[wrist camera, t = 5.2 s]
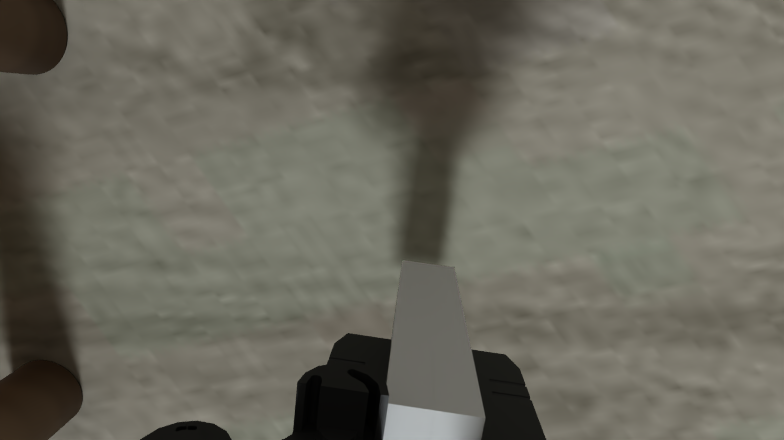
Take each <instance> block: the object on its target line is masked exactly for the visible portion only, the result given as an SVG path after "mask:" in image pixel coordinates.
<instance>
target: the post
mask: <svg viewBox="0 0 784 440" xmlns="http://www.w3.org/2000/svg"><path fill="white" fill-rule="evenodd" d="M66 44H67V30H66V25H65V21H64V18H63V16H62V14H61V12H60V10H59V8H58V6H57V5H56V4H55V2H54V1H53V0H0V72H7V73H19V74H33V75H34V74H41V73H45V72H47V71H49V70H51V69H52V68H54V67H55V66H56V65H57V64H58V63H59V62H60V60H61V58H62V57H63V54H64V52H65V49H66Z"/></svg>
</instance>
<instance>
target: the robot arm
mask: <svg viewBox="0 0 784 440" xmlns="http://www.w3.org/2000/svg"><path fill="white" fill-rule="evenodd" d="M140 440H232V439H231V438H230V436H229V434H228V433H227V431H225V430H223V429H222V428H220V427H218V426H217V425H215V424H212V423H206V422H201V421H188V422H177V423H174V424H171V425H168V426H165V427H162V428H158V429H157V430H155V431H153V432H152V433H150V434H148V435H147V436H145V437H144V438H142V439H140ZM282 440H546V438H545V435H544V433H543V430H542V427H541V425H540V422H539V419H538V417H537V414H536V411H535V409H534V406H533V403H532V401H531V400H530V395H529V393H528V390H527V387H525V382H524V379H523V377H522V374H521V371H520V369H519V368H518V367H517V366H516V365H515V364H514V363H513V362H512V361H511V360H510V359H509V358H508V357H507V356H506V355H505V354H498V353H491V352H484V351H478V350H471V345H470V340H469V335H468V330H467V325H466V321H465V316H464V311H463V306H462V301H461V296H460V291H459V287H458V282H457V277H456V272H455V267H449V266H442V265H435V264H428V263H421V262H414V261H407V260H402V265H401V273H400V280H399V287H398V294H397V301H396V308H395V315H394V323H393V330H392V337H391V339H384V338H377V337H370V336H363V335H357V334H350V333H348V334H346V335H345V336H344V337H342V338H341V339H340V340H338V341H337V342H336V343H334V346H333V349H332V352H331V354H330V357H329V360H328V362H327V365H322V366H318V367H316V368H314V369H312V370H310V371H308V372H306V373H305V374H304V375H303V376H302V377H301V379H300V380H299V381H298V382H297V394H296V405H295V416H294V428H293V433H292V435H290V436H288V437H287V438H285V439H282Z"/></svg>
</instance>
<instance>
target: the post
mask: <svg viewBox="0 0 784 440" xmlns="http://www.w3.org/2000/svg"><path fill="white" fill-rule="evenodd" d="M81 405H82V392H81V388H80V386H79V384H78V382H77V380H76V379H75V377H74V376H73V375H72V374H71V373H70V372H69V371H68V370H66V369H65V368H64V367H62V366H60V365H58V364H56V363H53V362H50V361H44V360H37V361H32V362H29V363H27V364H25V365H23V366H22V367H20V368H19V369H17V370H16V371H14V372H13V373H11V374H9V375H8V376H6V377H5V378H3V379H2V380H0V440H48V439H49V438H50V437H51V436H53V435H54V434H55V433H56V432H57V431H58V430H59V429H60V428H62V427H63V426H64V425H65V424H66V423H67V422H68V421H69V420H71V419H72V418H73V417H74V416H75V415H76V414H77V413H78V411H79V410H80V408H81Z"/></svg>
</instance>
